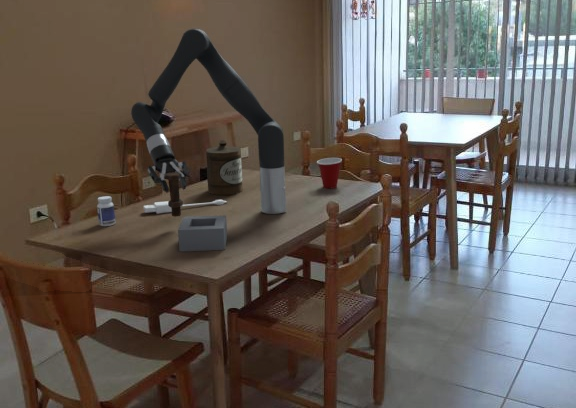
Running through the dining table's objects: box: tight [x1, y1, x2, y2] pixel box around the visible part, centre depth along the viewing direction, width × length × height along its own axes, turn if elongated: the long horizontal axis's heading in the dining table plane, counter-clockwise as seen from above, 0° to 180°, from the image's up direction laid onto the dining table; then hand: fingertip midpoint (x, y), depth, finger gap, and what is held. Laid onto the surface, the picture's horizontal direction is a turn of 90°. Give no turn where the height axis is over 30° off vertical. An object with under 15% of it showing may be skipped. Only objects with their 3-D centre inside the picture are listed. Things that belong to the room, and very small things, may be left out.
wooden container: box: [205, 139, 243, 196], centre depth 256 cm, size 15×15×22 cm
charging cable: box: [143, 199, 228, 215], centre depth 234 cm, size 5×32×3 cm, turn 113°
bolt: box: [164, 172, 184, 217], centre depth 206 cm, size 6×5×15 cm
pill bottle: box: [96, 195, 117, 227], centre depth 215 cm, size 6×6×10 cm
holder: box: [177, 214, 228, 252], centre depth 193 cm, size 14×14×7 cm
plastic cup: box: [316, 157, 343, 189], centre depth 259 cm, size 11×11×12 cm
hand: (176, 189), depth 204 cm, fingers closed on bolt, 5 cm apart
